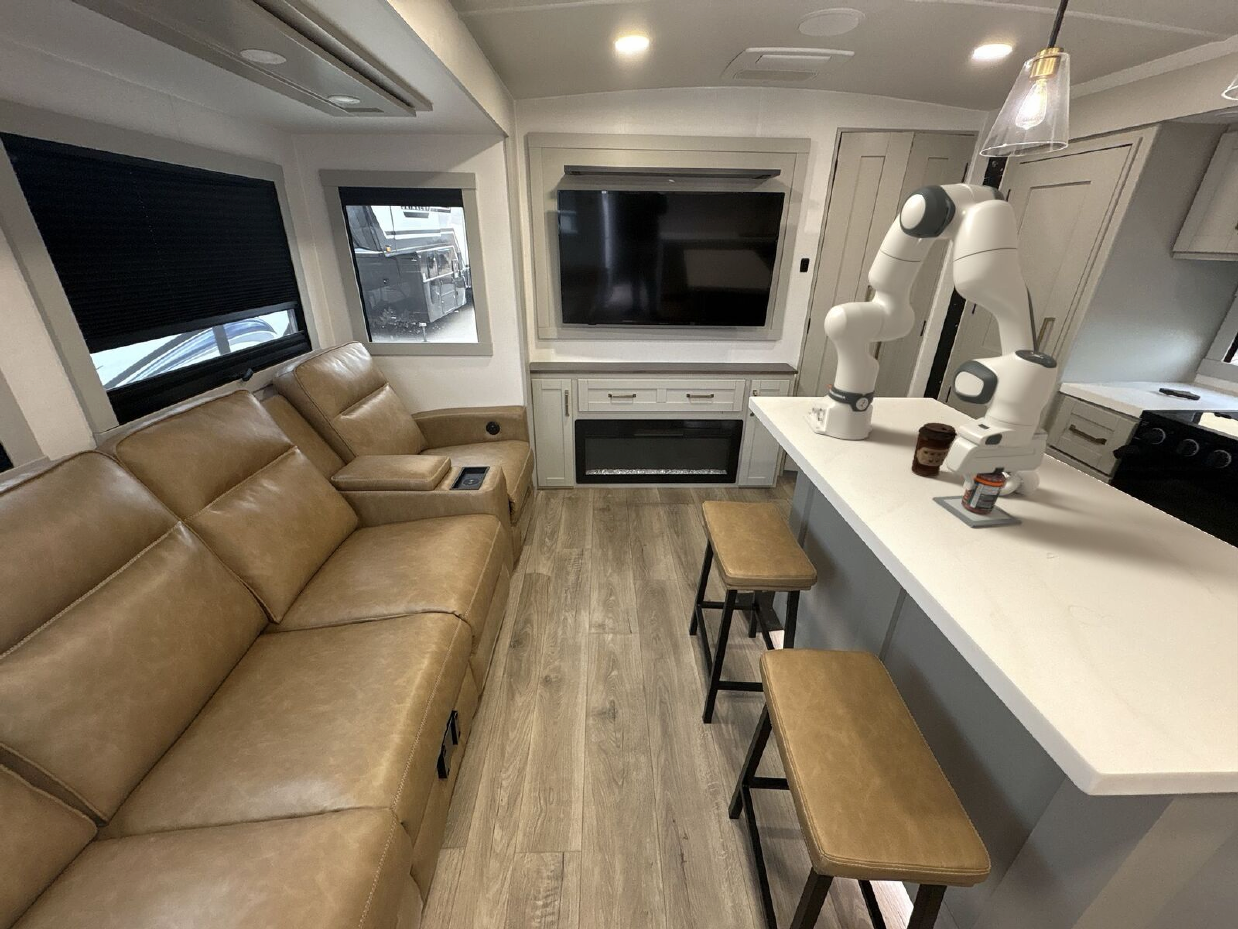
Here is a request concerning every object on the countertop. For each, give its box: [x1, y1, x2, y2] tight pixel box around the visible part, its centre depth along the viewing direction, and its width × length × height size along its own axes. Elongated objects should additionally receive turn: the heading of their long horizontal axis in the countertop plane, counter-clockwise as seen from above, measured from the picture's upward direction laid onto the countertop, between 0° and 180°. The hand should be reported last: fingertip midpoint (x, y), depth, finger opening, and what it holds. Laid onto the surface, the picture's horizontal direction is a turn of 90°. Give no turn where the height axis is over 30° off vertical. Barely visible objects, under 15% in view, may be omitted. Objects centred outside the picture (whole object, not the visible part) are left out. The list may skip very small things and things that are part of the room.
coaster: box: [931, 494, 1023, 529], centre depth 110 cm, size 12×12×1 cm
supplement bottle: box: [961, 467, 1006, 514], centre depth 107 cm, size 6×6×11 cm
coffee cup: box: [910, 422, 958, 478], centre depth 124 cm, size 9×8×13 cm
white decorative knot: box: [999, 469, 1041, 496], centre depth 118 cm, size 11×12×9 cm
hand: (983, 487), depth 108 cm, fingers closed on supplement bottle, 6 cm apart
